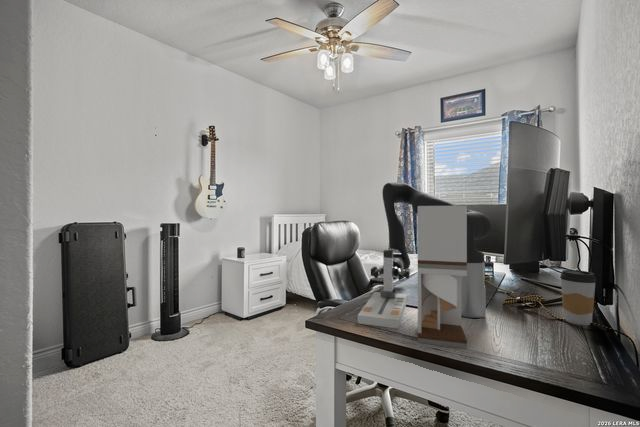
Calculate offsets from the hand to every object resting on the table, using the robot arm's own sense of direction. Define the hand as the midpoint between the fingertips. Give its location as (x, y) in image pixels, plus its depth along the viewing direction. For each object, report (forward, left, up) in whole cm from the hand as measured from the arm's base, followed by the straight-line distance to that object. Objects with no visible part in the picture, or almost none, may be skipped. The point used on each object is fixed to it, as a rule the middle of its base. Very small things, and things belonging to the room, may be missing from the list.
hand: (387, 276), depth 107 cm
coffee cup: (-56, -4, -11) cm, 57 cm away
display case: (-17, +22, -11) cm, 30 cm away
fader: (0, -2, -8) cm, 8 cm away
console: (0, +6, -10) cm, 12 cm away
